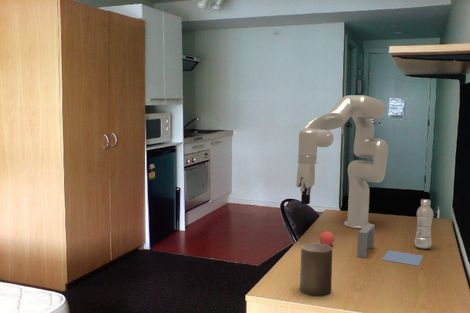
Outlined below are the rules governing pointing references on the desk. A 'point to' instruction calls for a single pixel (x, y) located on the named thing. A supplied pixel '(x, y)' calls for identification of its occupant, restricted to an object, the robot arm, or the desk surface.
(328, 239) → the ball
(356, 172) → the robot arm
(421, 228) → the plastic bottle
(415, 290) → the desk surface
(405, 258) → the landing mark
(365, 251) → the bridge
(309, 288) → the pillar candle
